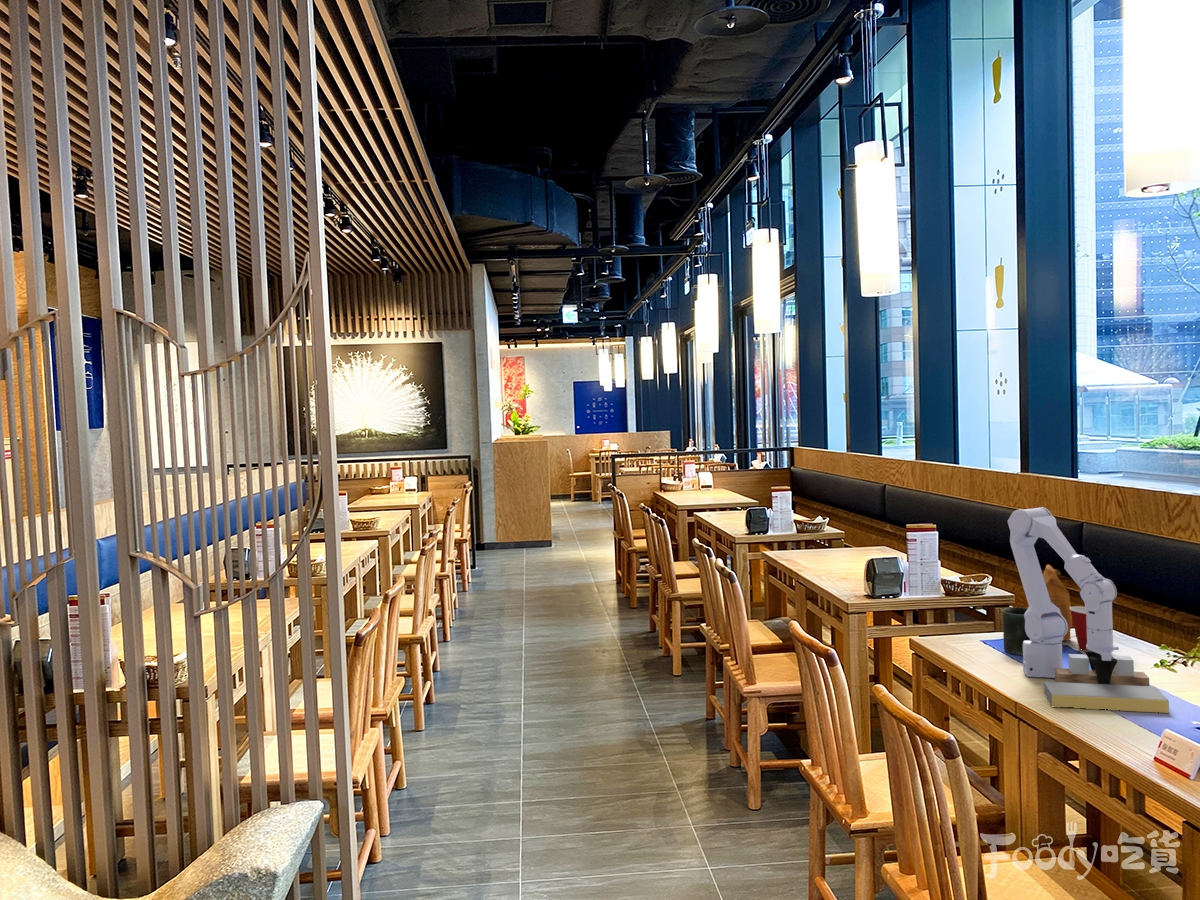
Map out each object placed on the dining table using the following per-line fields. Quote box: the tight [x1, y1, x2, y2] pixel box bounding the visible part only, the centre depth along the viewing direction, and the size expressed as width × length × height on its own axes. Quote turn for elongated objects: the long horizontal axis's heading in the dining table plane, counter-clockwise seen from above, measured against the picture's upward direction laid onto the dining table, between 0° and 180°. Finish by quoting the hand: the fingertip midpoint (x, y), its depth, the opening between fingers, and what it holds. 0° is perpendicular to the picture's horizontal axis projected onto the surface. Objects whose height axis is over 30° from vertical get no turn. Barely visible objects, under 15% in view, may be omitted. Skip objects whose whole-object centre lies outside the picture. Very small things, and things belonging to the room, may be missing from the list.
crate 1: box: [1067, 653, 1090, 674], centre depth 227 cm, size 4×4×4 cm
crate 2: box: [1111, 655, 1135, 676], centre depth 224 cm, size 4×4×4 cm
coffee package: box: [1041, 564, 1073, 641], centre depth 279 cm, size 10×12×22 cm
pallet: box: [1054, 667, 1150, 686], centre depth 226 cm, size 20×6×4 cm, turn 71°
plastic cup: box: [1069, 605, 1088, 651], centre depth 263 cm, size 11×11×12 cm
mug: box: [1000, 606, 1030, 656], centre depth 265 cm, size 11×15×12 cm
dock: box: [1043, 681, 1170, 714], centre depth 214 cm, size 24×11×3 cm, turn 72°
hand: (1101, 682), depth 226 cm, fingers closed on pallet, 6 cm apart
